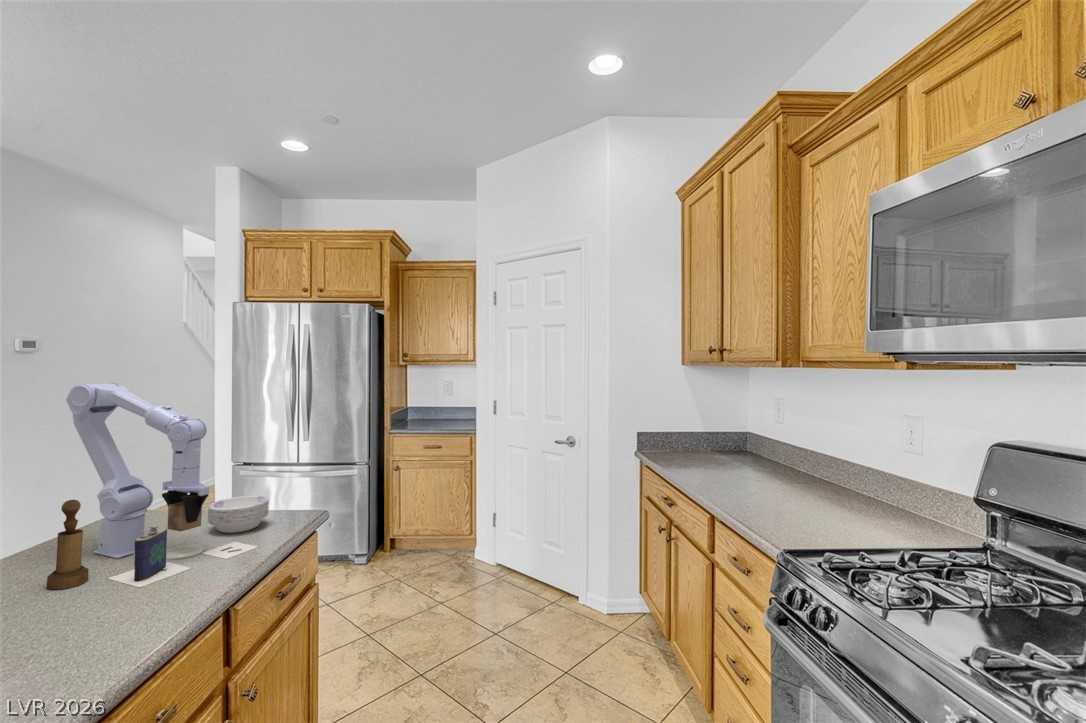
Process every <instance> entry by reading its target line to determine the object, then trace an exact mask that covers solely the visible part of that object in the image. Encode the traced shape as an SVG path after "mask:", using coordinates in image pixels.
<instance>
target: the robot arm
mask: <svg viewBox="0 0 1086 723" xmlns="http://www.w3.org/2000/svg"><path fill="white" fill-rule="evenodd" d="M65 401H66V402H67V405H68V407H69V409H70V411H71V413H72V419H73V420H72V423H73V425H74V427H75V430H76V431H77V433H78V436H79V438H80V440H81V442H82V444H83V445H84V448H85V450H86V452H87V454H88V456H89V458H90V460H91V461H92V464H93V467H94V468H95V470H96V472H97V475H98V476H99V479H100V481H101V482H102V484H103V487H102V488H101V490H99V492H98V493H97V495H96V497H97V499H98V501H99V512H100V514H101V515H102V517H104V519H103V520H102V521H101V523H100V525H99V528H98V529H99V530H98V549H96V550H94V551H93V553H94V554H98V555H101V556H106V557H110V558H114V559H120V558H124V557H126V556H129V555H130V556H131V555H132V554H133V555H134V554H135V540H136V539H137V538H140V536H145V520H146V519H145V518H146V517H145V516H146V513H147V512H148V508H149V507H151V505H152V504H153V502H154V493H153V491H152V490H151V489H150V488H149V487H148V486H146V485H145V483H144V481H143V480H142V479H141V478H138V477H136V476H133V475H131V473H130V471H129V469H128V467H127V464H126V463H125V461H124V459H123V457H122V456H123V455H121V452H120V450H119V449H118V446H117V445H116V443H115V441H114V437H113V436H112V435H111V434H112V433H111V432H110V430H109V428H108V425H107V424H106V420H107V419H108V417H110V416H111V415H112V413H114V411H116V409H117V408H118V407H119V408H122V409H124V410H125V411H128V412H131V413H133V414H135V415H138V416H139V417H142V418H144V421H145V424H146V425H147V426H149V427H151V428H153V429H155V430H157V431H159V432H160V433H162V434H165V435H167V438H168V439H167V440H169V442H170V443H171V449H172V466H171V468H172V469H171V470H172V471H171V480H169V481H163V482H162V491H167V492H164V493H162V494H161V497H162V498H163V499H164V501H165V503H166V505H167V506H168V505H171V504H175V503H179V502H183V503H184V506H185V511H186V521H187V523H192V522H195V521H197V519H198V515H199V512H200V510H201V507H202V508H203V505H204V503H205V501H206V499H207V498H208V497H209V495H210V486H208V485H205V484H203V483H201V482H200V478H201V477H200V474H201V473H200V472H201V449H202V448H201V447H202V439H203V438H204V437H205V436H206V434H207V431H208V430H207V426H206V424H205V423H204V422H203V421H202V420H201V419H200V418H191V419H190V418H188V415H186V414H180V413H179V412H177V411H175V410H173V409H172V408H173V407H172V406H170V405H168V404H167V405H163V404H162V405H161V404H160V405H156V406H155V405H154V404H152V403H149V402H148V401H146V400H145V399H143V398H141V397H139V396H138V395H136V394H134V393H133V392H131V391H129V390H128V388H127V387H126V386H123V385H121V384H119V383H117V382H107V383H106V382H105V383H84V382H82V383H78V384H75V385H74V386H72V387H71V389H70V391H69V393H68V395H67V396H66V399H65Z"/></svg>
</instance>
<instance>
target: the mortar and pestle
mask: <svg viewBox="0 0 1086 723" xmlns="http://www.w3.org/2000/svg"><path fill="white" fill-rule="evenodd" d="M81 506H82V505H81V502H80V501H79V500H77V499H70V500H66V501H65V502H63V504H62V505H61V512H62V513H63V514H64V516H65V517H66V518H65V521H63V527H64V531H60V532H58V533H57V541H56V542H57V545H56V547H57V548H56V561H55V563H56V564H55V570H53V571H52V572H51V573H49V574H48V576H46V589H48V590H52V591H54V590H56V591H57V590H65V589H71V588H74V587H78V586H80V585H84V584H85V583H87V582H88V580H89V568H87V567H85V566H84V565H82V553H83V538H84V536H83V534H84V530H83V529H76V528H77V525H78V522H79V519H77V518H76V515H77V513H78V512H79V511H80V508H81Z"/></svg>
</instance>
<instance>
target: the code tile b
mask: <svg viewBox="0 0 1086 723" xmlns="http://www.w3.org/2000/svg"><path fill="white" fill-rule="evenodd" d="M257 548H259V546H258V545H252V544H247V543H242V542H238V541H233V542H230V543H227V544H225V545H221V546H219V547H215V548H213V549H209V550H207V551H204V552H202V553H201V555H205V556H211V557H215V558H219V559H224V560H228V559H231V558H234V557H236V556H238V555H239V556H240V555H242V554H244V553H246V552H249V551H252V550H255V549H257Z"/></svg>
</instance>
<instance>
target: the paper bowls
mask: <svg viewBox="0 0 1086 723" xmlns="http://www.w3.org/2000/svg"><path fill="white" fill-rule="evenodd" d="M269 501H270V500H269V498H268V497H266V496H264V495H263V496H262V495H242V496H233V497H229V498H225V499H220V500H217V501H214V502H212V503H210V504H209V505H208V507H207V508H208V509H207V510H208V511H207V520H208V521H207V523H208V524H209V525H212V526H214V527H216V529H217V531H218V532H221V533H225V534H236V533H242V532H247V531H251V530H253V529H255V528H257V527H258V526H259V525H260V523H261V521H262V519H264V518H266V517H268V515H269V508H270V507H269V503H270V502H269Z"/></svg>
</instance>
